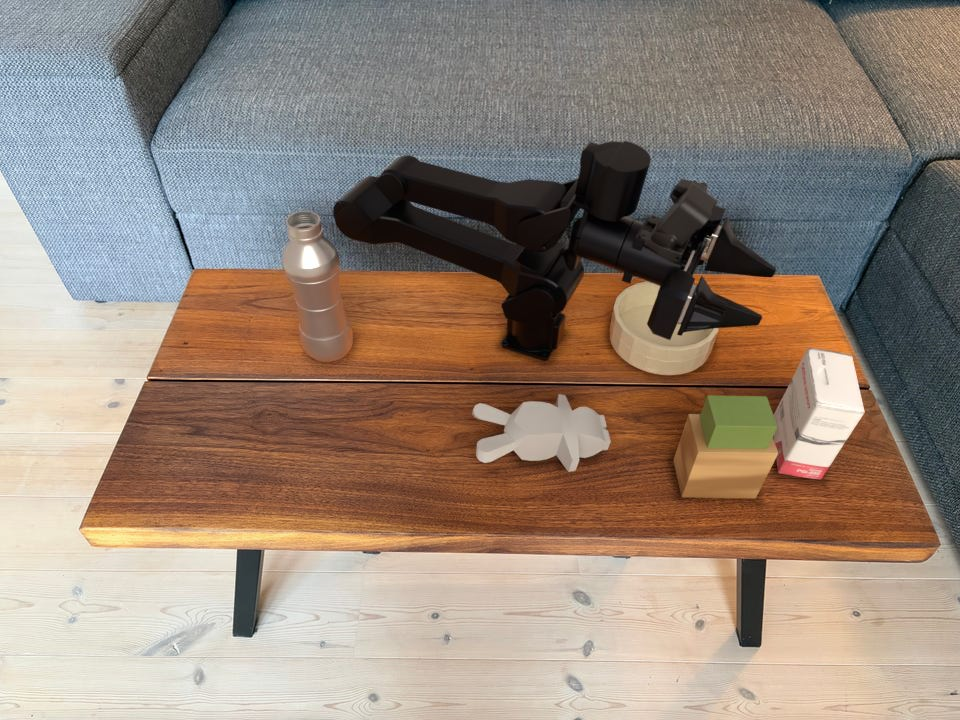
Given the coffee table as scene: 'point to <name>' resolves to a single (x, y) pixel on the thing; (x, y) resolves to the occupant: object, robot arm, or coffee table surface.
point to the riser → (719, 466)
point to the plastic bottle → (316, 288)
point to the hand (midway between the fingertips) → (767, 295)
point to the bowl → (654, 336)
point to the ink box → (817, 413)
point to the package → (737, 422)
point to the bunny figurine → (544, 432)
